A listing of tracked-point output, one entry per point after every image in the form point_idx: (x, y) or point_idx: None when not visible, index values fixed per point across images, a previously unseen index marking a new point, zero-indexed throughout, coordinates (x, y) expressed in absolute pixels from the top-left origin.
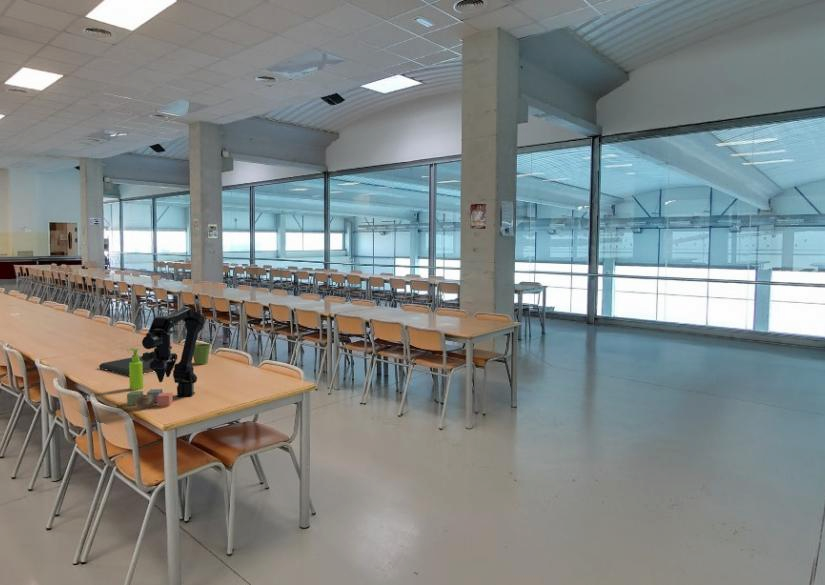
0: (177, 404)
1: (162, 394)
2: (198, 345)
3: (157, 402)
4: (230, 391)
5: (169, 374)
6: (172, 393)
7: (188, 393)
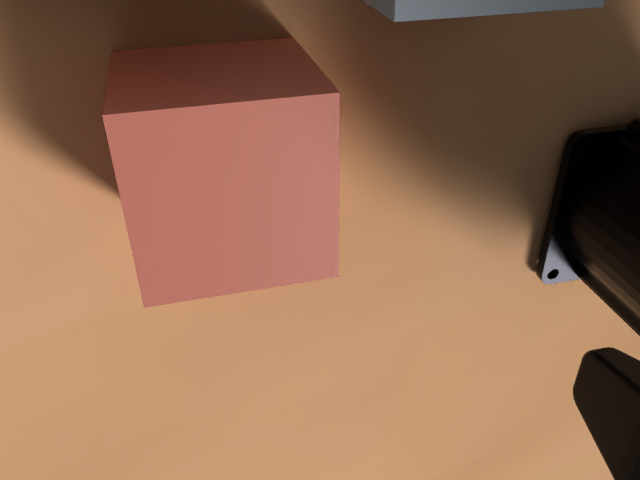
0: None
1: (218, 171)
2: None
3: (108, 75)
4: (608, 477)
5: (609, 468)
6: (326, 271)
7: (582, 261)
